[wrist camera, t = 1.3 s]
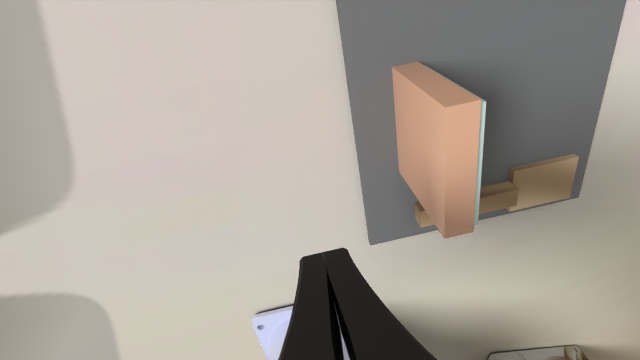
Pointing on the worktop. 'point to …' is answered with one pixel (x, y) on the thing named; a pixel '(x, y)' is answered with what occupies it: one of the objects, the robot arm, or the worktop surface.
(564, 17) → the mat
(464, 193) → the tile
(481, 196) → the tan stepped block
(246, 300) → the worktop surface
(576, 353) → the coffee box
